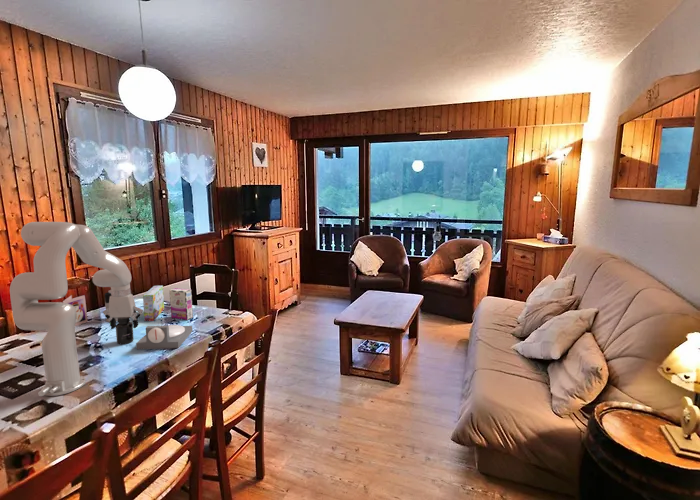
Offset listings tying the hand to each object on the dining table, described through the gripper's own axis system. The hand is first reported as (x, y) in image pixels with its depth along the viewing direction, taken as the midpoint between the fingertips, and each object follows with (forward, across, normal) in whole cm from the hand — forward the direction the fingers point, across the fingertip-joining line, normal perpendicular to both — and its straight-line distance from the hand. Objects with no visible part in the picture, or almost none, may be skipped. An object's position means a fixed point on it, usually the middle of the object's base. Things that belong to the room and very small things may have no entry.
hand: (124, 327), depth 171 cm
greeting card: (+8, -38, +24) cm, 46 cm away
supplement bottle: (+7, 0, -1) cm, 7 cm away
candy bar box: (+8, +15, +31) cm, 36 cm away
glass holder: (+8, -18, +31) cm, 37 cm away
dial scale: (+7, +18, 0) cm, 19 cm away
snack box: (+8, -2, +37) cm, 38 cm away
